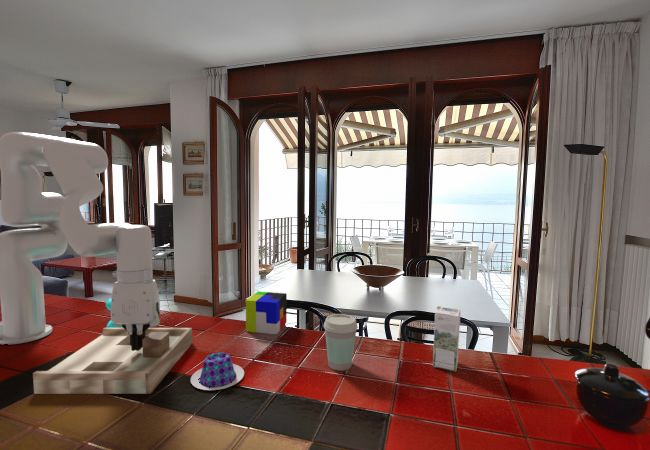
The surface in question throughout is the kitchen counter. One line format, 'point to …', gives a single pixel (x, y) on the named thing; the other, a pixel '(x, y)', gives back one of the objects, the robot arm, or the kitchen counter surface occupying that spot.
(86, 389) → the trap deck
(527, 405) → the kitchen counter surface
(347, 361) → the coffee cup
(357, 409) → the kitchen counter surface
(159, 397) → the kitchen counter surface
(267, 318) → the puzzle toy
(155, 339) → the walnut block
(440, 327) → the syrup box
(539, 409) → the kitchen counter surface
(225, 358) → the pudding
